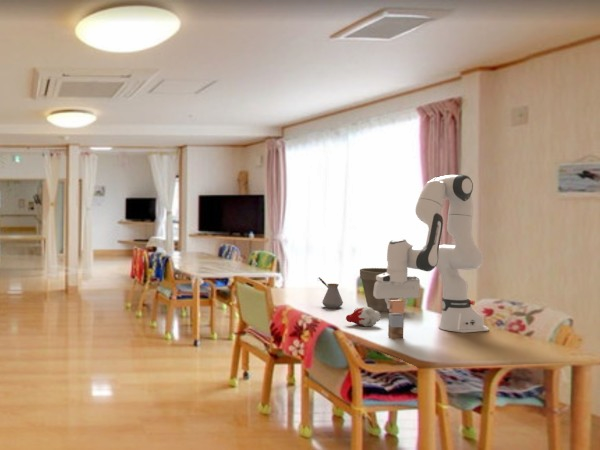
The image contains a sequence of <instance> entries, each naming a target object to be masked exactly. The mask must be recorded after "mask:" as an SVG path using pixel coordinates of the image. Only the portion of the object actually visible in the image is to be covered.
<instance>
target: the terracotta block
mask: <svg viewBox="0 0 600 450" xmlns="http://www.w3.org/2000/svg"><path fill="white" fill-rule="evenodd" d="M404 301H405V300H402V299H398V300H389V304H391V305H392V309H389V311H388V312H389V313H390V314H397V313H400V314H404V313H405V309H404Z"/></svg>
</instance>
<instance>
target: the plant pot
mask: <svg viewBox="0 0 600 450" xmlns="http://www.w3.org/2000/svg"><path fill="white" fill-rule="evenodd" d="M385 272H387V267H385V268H383V267H380V268H379V267H367V268H366V267H365V268H360V269H359V278H360V279H361V283H362V288H363V291H364V296H365V297H364V298H365V301H366V305H367V306H366V307H370V308H372V309H373V310H375V311H378V312H389V309H388V308H387V303H386V302H385V299H377V298H375V297H374V295H373V291H374V284H375V282H376V281H378V280H376V276H377V275H379V274H382V273H385ZM390 300H399V298H390ZM388 302H389V301H388Z"/></svg>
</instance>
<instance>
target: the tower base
mask: <svg viewBox="0 0 600 450" xmlns="http://www.w3.org/2000/svg"><path fill="white" fill-rule="evenodd" d="M387 329H388V332H387V333H388V334H387V335H388V336H389V338H390V339H391V340H400V339H401V340H402V339H404V327H391V326H389V324H388V327H387Z"/></svg>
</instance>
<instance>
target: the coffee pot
mask: <svg viewBox="0 0 600 450" xmlns="http://www.w3.org/2000/svg"><path fill="white" fill-rule="evenodd" d="M317 281H320V282H321V283H322V284H323V285H324V286H325V287H326V288H327V290H326V291H325V294H324V297H323V299H322V302H321V303H322V305H323V306H324V307H325V308H326V309H340V307H341V306H343V304H344V302H343V299H342V297H341V296H342V295H341V293H340V291H339V289H338V287H339V283H326V282H325V281H324V280H323V279H322V278H321V277H318V278H317Z"/></svg>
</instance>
